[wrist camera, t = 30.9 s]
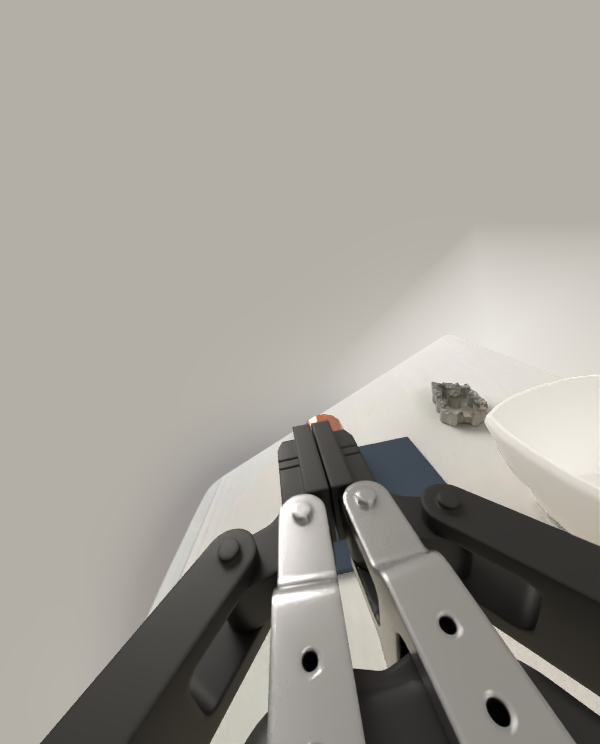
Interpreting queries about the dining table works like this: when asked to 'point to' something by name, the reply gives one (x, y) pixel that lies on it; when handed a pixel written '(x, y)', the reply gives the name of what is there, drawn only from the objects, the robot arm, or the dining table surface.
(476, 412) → the grey jagged stone ring
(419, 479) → the mat
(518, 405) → the bowl
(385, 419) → the dining table surface
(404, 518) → the robot arm
